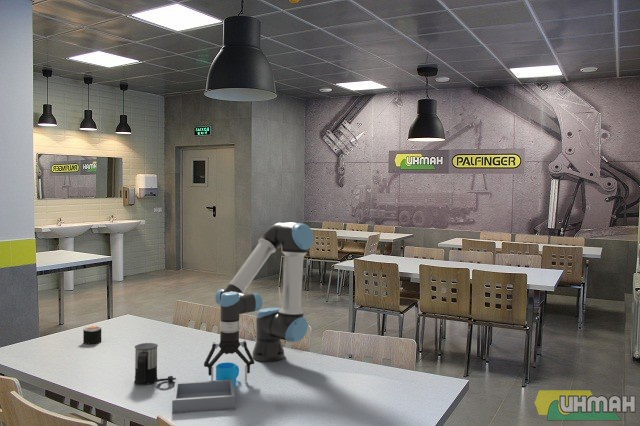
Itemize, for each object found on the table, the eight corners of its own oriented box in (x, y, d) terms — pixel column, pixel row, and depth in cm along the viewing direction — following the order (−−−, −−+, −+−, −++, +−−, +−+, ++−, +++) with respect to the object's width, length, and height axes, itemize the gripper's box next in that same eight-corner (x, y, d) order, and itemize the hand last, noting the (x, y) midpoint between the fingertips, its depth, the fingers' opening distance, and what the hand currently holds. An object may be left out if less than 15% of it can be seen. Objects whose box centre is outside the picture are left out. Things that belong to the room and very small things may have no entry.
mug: (227, 390, 206) (227, 370, 205) (211, 386, 210) (211, 366, 209) (246, 381, 216) (246, 362, 216) (230, 377, 220) (230, 358, 220)
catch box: (232, 391, 205) (232, 379, 205) (235, 409, 188) (235, 396, 188) (174, 395, 200) (174, 382, 200) (172, 413, 183) (172, 400, 183)
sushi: (89, 339, 271) (89, 324, 271) (104, 340, 270) (104, 325, 270) (80, 344, 263) (80, 328, 263) (95, 345, 262) (95, 329, 262)
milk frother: (133, 378, 217) (133, 343, 216) (172, 374, 223) (172, 340, 222) (135, 391, 204) (135, 353, 203) (177, 385, 210) (177, 349, 209)
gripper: (198, 334, 206) (197, 387, 206) (261, 331, 211) (260, 383, 212) (198, 329, 213) (197, 380, 214) (259, 327, 218) (258, 376, 219)
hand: (229, 382), depth 213 cm, fingers open, 13 cm apart
